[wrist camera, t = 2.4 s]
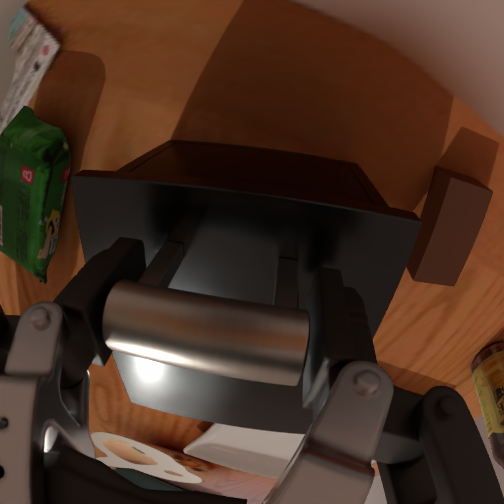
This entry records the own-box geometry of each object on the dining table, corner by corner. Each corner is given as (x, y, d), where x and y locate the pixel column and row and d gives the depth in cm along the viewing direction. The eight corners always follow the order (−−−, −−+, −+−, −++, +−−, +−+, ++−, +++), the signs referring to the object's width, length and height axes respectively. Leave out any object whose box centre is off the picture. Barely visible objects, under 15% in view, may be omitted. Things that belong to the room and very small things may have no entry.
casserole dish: (98, 461, 72) (91, 478, 66) (122, 460, 62) (115, 480, 56) (186, 499, 83) (182, 515, 77) (224, 500, 73) (220, 518, 67)
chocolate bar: (435, 165, 18) (451, 177, 15) (476, 179, 17) (493, 191, 15) (403, 262, 22) (412, 281, 20) (443, 268, 22) (454, 286, 20)
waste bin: (169, 139, 19) (85, 189, 11) (357, 163, 19) (407, 233, 10) (174, 304, 27) (135, 392, 19) (313, 326, 26) (315, 424, 18)
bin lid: (82, 169, 10) (-18, 235, 6) (414, 212, 10) (486, 315, 5) (134, 393, 18) (108, 457, 14) (315, 424, 18) (313, 497, 13)
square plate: (432, 405, 32) (437, 428, 29) (321, 468, 46) (321, 485, 43) (257, 353, 29) (252, 385, 26) (185, 435, 43) (180, 455, 40)
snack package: (17, 238, 26) (-13, 264, 21) (34, 99, 18) (-10, 112, 13) (63, 269, 27) (35, 301, 23) (93, 126, 19) (48, 143, 15)
